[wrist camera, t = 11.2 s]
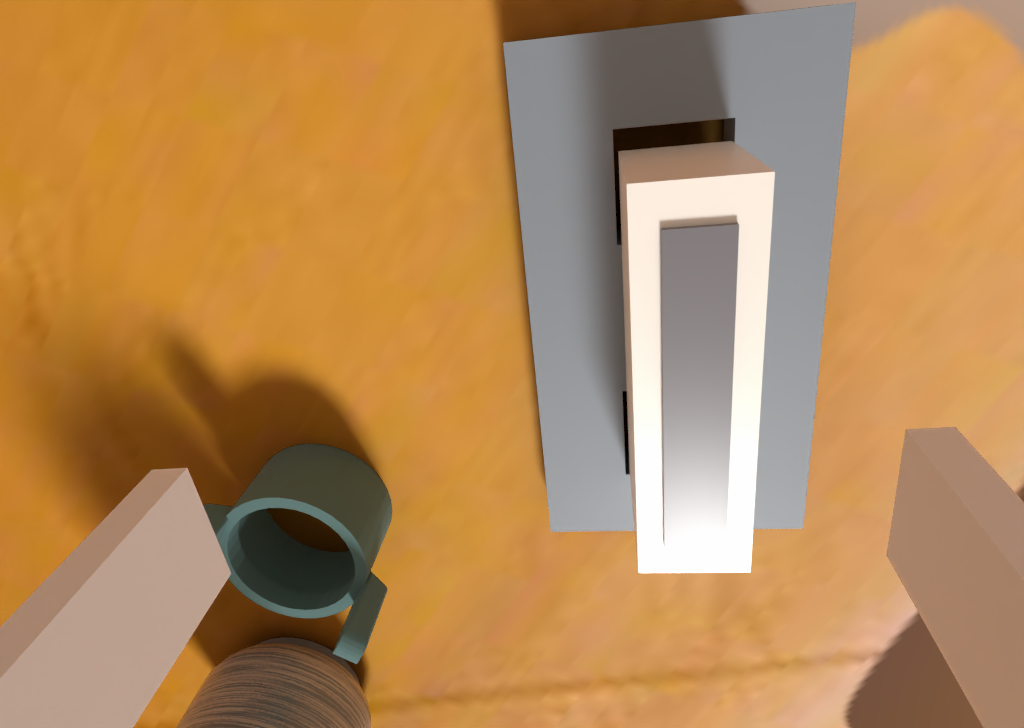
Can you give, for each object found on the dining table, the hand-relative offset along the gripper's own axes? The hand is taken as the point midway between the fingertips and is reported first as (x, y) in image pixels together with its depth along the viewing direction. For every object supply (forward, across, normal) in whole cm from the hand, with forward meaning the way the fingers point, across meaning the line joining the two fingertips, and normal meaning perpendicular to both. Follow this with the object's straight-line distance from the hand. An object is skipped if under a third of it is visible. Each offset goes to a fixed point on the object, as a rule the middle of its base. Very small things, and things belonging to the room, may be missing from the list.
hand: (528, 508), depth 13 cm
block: (+21, +5, -5) cm, 22 cm away
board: (+21, +5, -5) cm, 22 cm away
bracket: (+21, -16, -16) cm, 31 cm away
